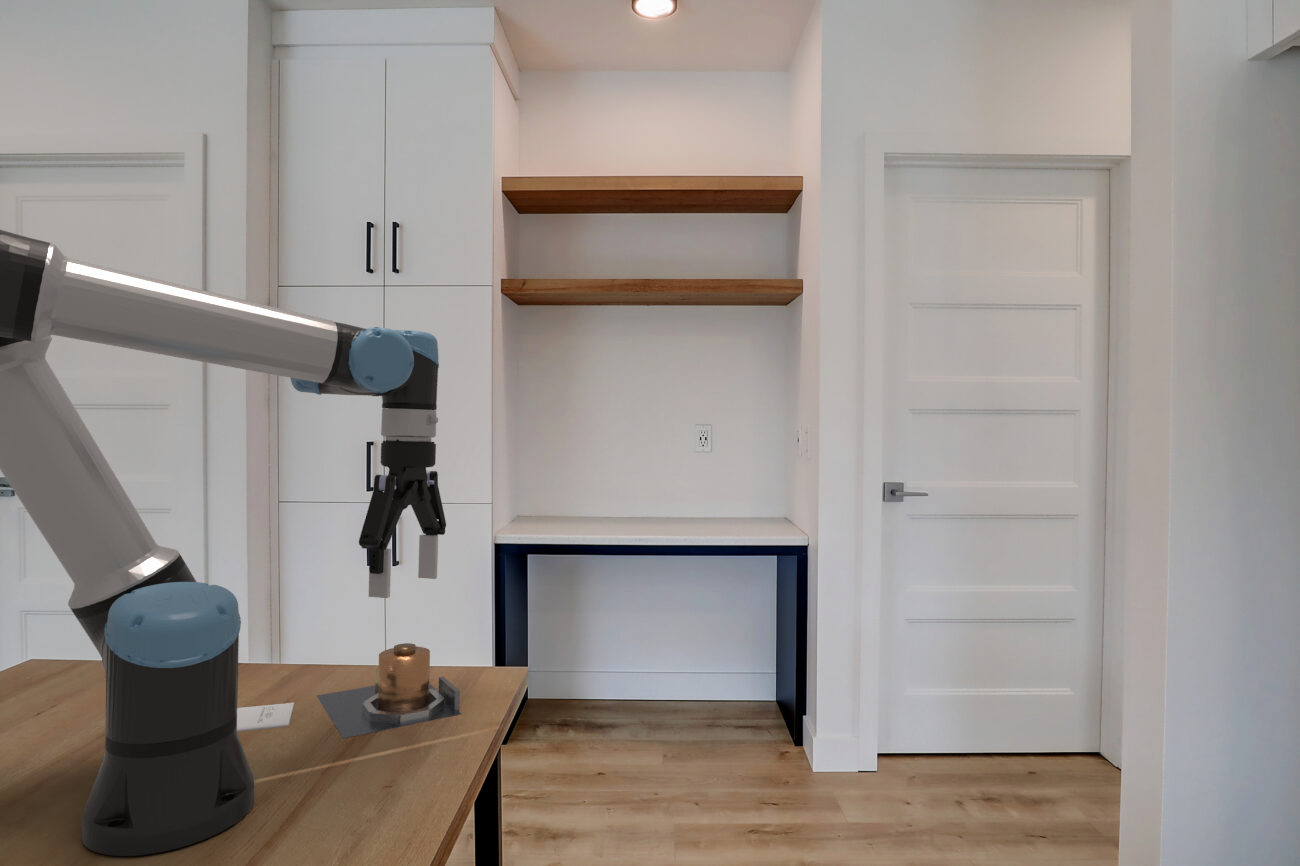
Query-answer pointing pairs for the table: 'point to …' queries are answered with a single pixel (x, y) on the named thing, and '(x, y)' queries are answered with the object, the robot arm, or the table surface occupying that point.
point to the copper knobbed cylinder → (404, 678)
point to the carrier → (361, 714)
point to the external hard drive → (264, 716)
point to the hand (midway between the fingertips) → (404, 587)
